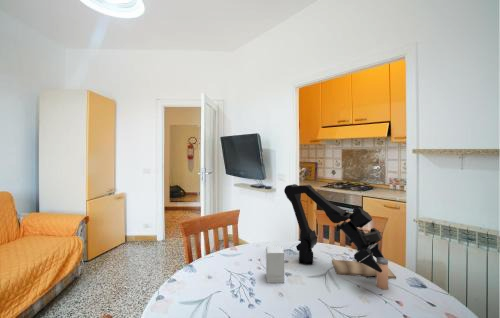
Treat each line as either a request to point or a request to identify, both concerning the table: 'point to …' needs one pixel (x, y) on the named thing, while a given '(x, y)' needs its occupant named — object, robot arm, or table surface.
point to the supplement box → (275, 264)
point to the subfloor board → (356, 268)
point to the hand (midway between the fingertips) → (383, 267)
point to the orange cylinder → (382, 273)
